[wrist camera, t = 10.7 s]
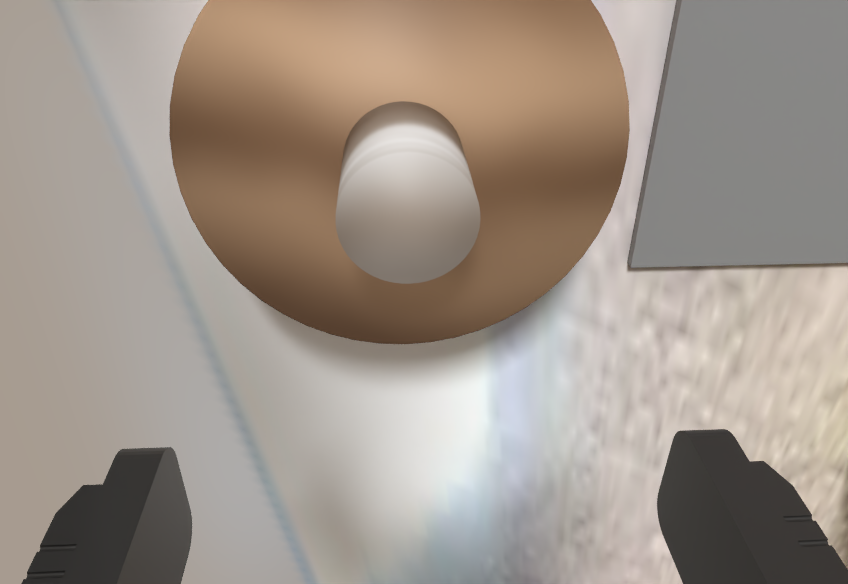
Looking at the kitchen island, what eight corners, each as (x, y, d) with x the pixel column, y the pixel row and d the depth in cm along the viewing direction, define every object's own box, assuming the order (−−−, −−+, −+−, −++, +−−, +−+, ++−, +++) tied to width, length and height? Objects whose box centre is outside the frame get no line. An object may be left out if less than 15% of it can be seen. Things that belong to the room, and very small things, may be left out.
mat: (700, -124, 25) (705, -124, 24) (1121, -121, 26) (1133, -121, 25) (627, 262, 33) (630, 267, 33) (945, 255, 34) (952, 260, 34)
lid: (130, -102, 19) (53, -90, 15) (660, -100, 20) (742, -87, 15) (214, 336, 27) (181, 431, 23) (590, 327, 28) (630, 417, 23)
